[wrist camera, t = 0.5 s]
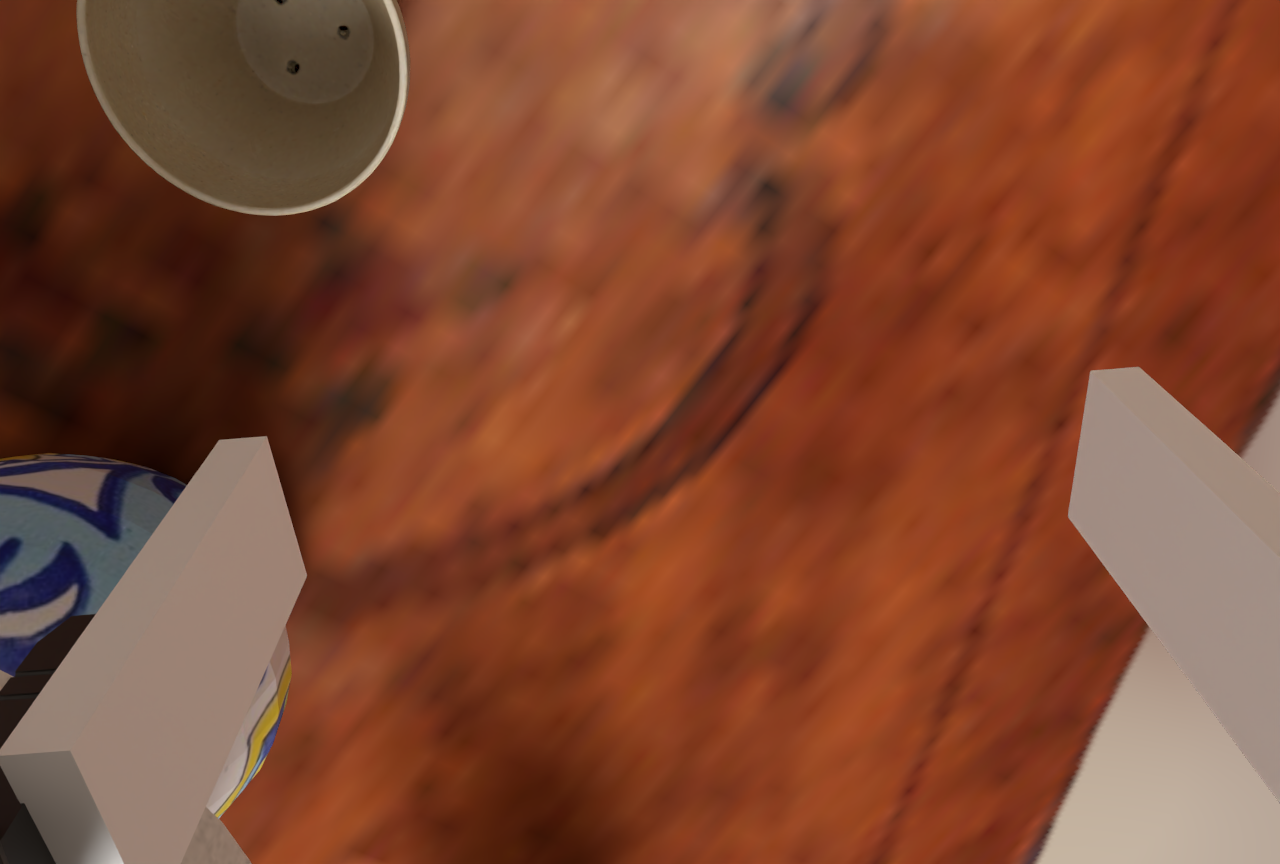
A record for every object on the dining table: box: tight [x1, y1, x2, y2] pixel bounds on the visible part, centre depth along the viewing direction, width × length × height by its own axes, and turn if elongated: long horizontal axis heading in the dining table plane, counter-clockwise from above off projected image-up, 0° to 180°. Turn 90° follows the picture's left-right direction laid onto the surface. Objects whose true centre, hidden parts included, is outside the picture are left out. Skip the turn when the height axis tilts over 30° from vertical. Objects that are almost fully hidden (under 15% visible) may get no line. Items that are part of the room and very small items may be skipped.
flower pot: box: [77, 0, 410, 216], centre depth 34 cm, size 10×10×7 cm
